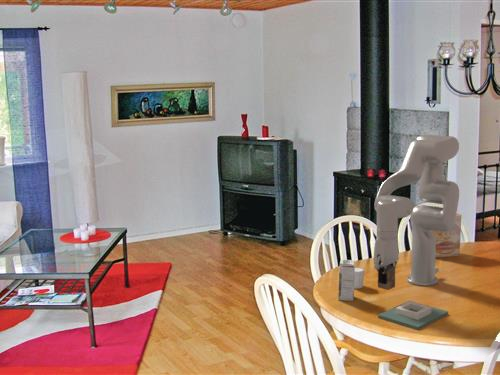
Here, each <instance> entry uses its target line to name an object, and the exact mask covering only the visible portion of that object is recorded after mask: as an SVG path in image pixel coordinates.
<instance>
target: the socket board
mask: <svg viewBox="0 0 500 375" xmlns="http://www.w3.org/2000/svg"><path fill="white" fill-rule="evenodd" d="M447 315H449V311H448V310H444V309H441V308H437V307H433V306H429V305H426V304H423V303H419V302H415V301H411V300H408V301H406V302H404V303H401V304H399V305H396V306H394V307H392V308H390V309H388V310H386V311H384V312H381V313H380V314H377V318H379V319H382V320H385V321H387V322H391V323H395V324H398V325H401V326H404V327H408V328H410V329H415V330H417V331H418V330H420V329H422V328H424V327H427V326H428V325H430V324H432V323H434V322H436V321H437V320H440V319H442V318H443V317H446V316H447Z"/></svg>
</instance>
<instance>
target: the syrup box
mask: <svg viewBox="0 0 500 375" xmlns="http://www.w3.org/2000/svg"><path fill="white" fill-rule="evenodd" d="M355 267H356V260H352V259H340V262H339V270H338V272H339V273H338V298H337V299H338V301H349V302H353V301H354V296H355V288H354V278H355Z"/></svg>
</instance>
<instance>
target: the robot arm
mask: <svg viewBox="0 0 500 375" xmlns="http://www.w3.org/2000/svg"><path fill="white" fill-rule="evenodd" d="M459 149H460V142H459V139H458V138H456V137H455V136H452V135H451V136H450V135H437V134H421V135H419V136H417V137H416V139H415V140H413V141H411V142H410V144H409V145H408V147H407V150H406V153H405V154H404V158H403V160H402V162H401V165H400V168H399V169H398V171H397V172H395V173H393V174H391V175H390V176H389V177H387V179H386V180H384V181H383V182H382V183H381V185H380V187H379V188H378V191H377V194H376V196H375V199H374V204H373V205H374V210H375V211H376V238H375V241H374V247H373V248H374V249H373V265H374V267H373V268H374V269H375V270H376V271H377V283H378V282H379V283H382V284H386V282H387V274H386V266H387V265H392V266H395V270H396V268H397V267H396V266H397V262H399V260H400V257H399V255H400V253H399V252H400V251H399V250H400V248H399V238H398V235H399V234H398V233H399V232H398V231H399V230H398V229H399V219H402V218H403V219H404V218H407V217H409V216H410V223H411V224H410V226H411V232H412V233H411V234H412V235H411V240H412V241H411V262H410V264H411V265H410V274H409V275H407V277H406V281H407V282H408V283H410V284H412V285H415V286H422V287H424V286H427V287H429V286H435V285H437V284H438V283H439V277H437V276H436V275H437V273H439V272H440V269H439V268H437V267H436V258H437V257H436V238H435V235H434V233H433V231H440V232H450V231H451V230H452V229H453V227H454V225H455V220H456V213H457V212H458V206H459V199H460V188H459V185H458V184H457V183H456V182H454V181H452V180H451V181H450V180H443V177H444V171H445V169H444V164H443V163H446V162H447V161H449V160H451V159H453V158H454V157H455V156H457V154H458V152H459ZM417 182H419V185H418V198H419V200H420V201H422V202H424V203H430V204H438V205H442V207H439V206H433V205H426V204H423V205H422V204H421V205H419V204H418V205H416V206H414V202H413V201H412V199H411V198H408V197H405V196H397V195H392V193H393V192H394V191H395V190H397V189H399V188H402V187H405V186H409V185H412V184H414V183H417ZM457 214H458V213H457ZM432 230H433V231H432ZM381 266H382V267H383V269H382V268H381Z"/></svg>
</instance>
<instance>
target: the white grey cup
mask: <svg viewBox="0 0 500 375" xmlns="http://www.w3.org/2000/svg"><path fill="white" fill-rule="evenodd" d="M365 271H366V270H365V269H364V268H362V267H356V266H355V278H354V289H361V288H363V287H364V280H365Z"/></svg>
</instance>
